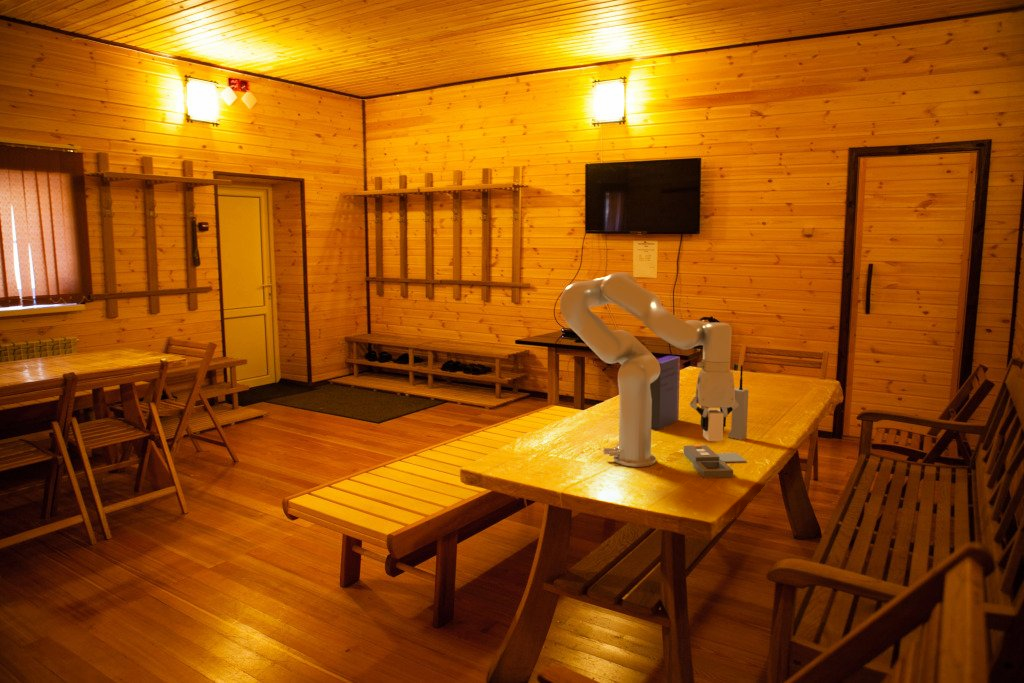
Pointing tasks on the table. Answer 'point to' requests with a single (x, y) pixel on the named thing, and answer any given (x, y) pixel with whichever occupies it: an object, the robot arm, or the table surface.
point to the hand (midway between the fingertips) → (712, 429)
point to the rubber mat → (731, 457)
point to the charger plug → (714, 425)
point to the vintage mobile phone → (740, 413)
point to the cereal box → (666, 393)
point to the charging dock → (707, 461)
